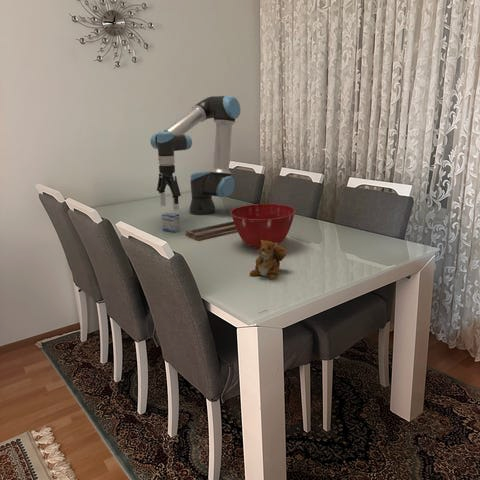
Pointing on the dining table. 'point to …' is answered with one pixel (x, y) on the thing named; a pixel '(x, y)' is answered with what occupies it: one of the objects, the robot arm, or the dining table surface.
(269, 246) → the stuffed squirrel
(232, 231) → the tray
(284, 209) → the mixing bowl
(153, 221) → the dining table surface
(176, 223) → the medicine box
